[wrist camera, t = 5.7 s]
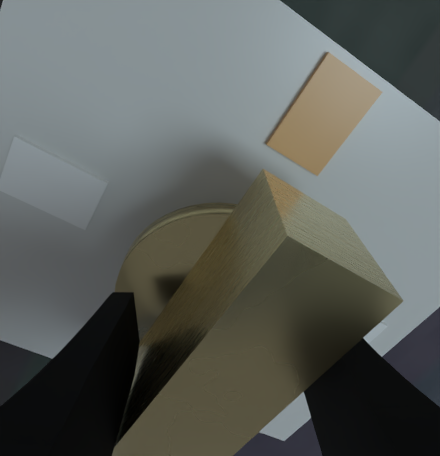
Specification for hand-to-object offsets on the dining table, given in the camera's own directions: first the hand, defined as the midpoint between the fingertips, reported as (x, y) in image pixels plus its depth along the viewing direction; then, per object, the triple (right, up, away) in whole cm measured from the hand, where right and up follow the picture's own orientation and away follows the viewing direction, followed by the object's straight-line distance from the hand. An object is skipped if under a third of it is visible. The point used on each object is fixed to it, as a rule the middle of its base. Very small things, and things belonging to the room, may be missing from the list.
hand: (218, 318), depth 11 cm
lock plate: (0, +2, +4) cm, 4 cm away
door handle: (0, +1, +2) cm, 2 cm away
